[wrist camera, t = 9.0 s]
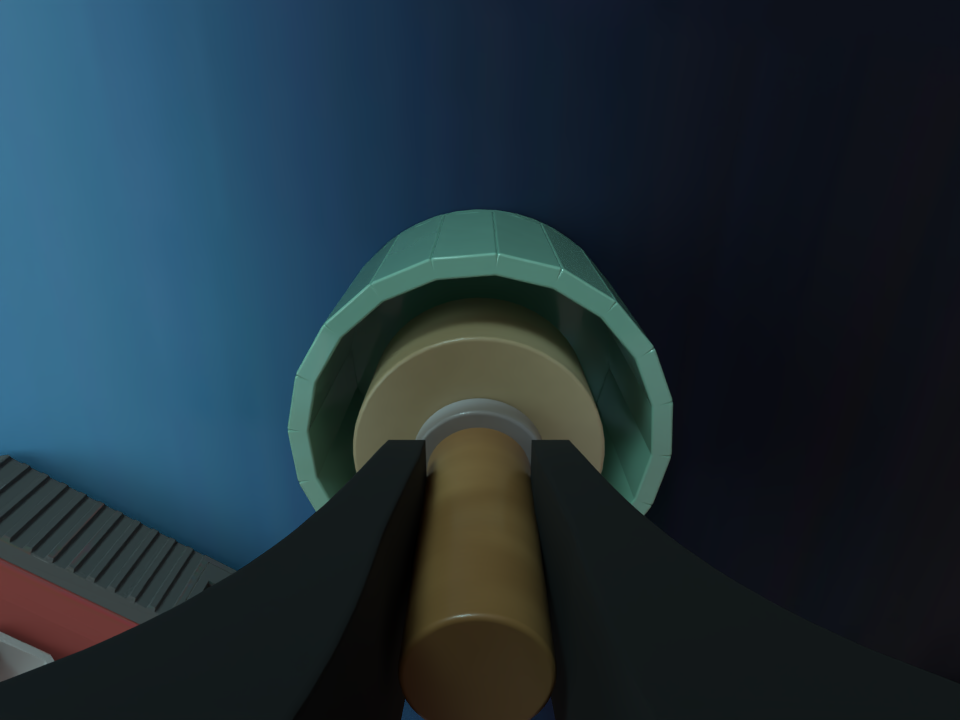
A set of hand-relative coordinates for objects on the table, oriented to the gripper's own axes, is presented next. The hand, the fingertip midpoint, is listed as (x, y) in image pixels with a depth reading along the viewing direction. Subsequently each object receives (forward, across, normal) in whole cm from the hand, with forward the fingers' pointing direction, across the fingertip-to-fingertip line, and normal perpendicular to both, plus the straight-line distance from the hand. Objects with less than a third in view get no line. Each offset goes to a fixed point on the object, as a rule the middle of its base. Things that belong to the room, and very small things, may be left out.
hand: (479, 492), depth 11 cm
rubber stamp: (+4, 0, 0) cm, 4 cm away
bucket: (+7, 0, 0) cm, 7 cm away
